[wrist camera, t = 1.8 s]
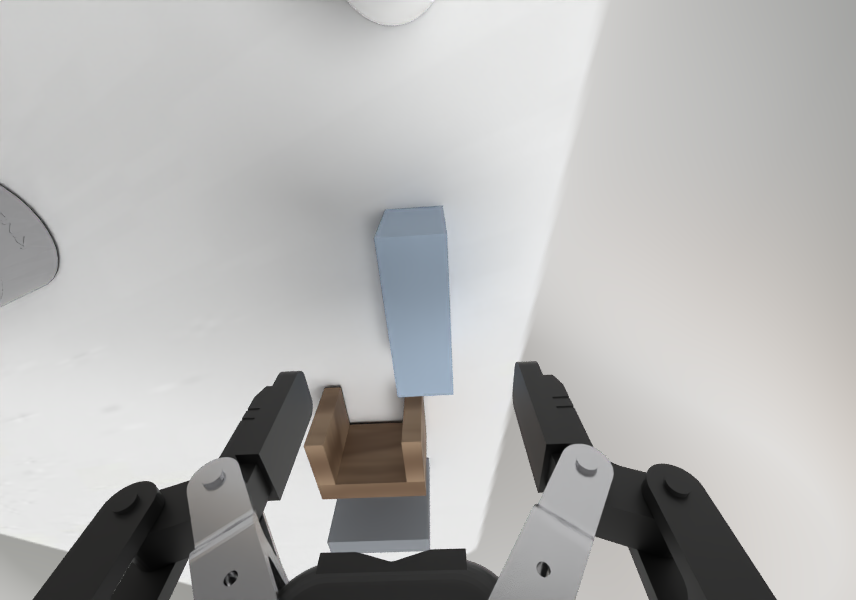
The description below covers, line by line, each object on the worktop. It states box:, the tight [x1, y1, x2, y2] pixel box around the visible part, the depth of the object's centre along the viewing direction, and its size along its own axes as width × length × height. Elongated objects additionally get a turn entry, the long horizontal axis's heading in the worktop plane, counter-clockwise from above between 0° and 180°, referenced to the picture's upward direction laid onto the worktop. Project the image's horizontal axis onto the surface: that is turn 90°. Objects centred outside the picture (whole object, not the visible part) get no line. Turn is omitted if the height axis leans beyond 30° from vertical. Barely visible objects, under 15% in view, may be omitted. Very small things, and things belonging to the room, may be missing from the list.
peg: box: [374, 206, 453, 397], centre depth 24 cm, size 12×4×6 cm, turn 4°
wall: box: [327, 458, 430, 553], centre depth 34 cm, size 2×9×8 cm, turn 93°
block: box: [304, 387, 426, 499], centre depth 31 cm, size 7×9×6 cm
